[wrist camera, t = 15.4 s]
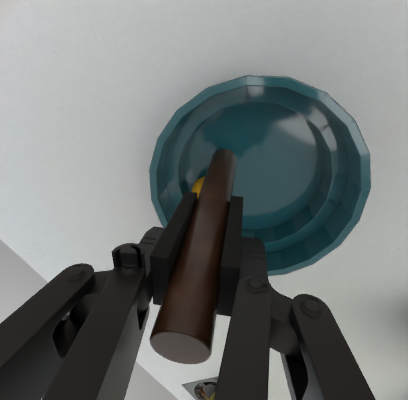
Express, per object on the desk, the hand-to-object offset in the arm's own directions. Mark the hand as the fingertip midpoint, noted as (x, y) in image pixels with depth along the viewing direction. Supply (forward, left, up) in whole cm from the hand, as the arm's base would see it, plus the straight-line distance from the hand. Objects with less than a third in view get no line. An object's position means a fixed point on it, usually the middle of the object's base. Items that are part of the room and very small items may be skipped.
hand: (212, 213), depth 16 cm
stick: (0, -1, -7) cm, 7 cm away
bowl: (-2, 0, -10) cm, 10 cm away
